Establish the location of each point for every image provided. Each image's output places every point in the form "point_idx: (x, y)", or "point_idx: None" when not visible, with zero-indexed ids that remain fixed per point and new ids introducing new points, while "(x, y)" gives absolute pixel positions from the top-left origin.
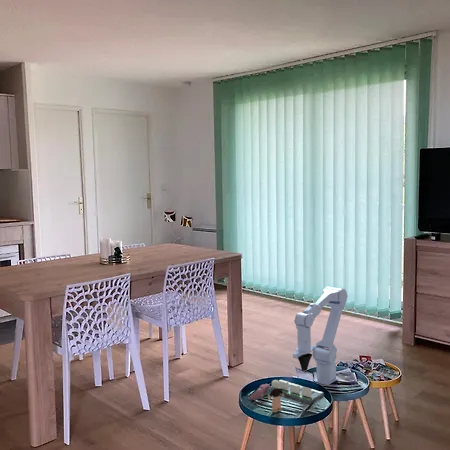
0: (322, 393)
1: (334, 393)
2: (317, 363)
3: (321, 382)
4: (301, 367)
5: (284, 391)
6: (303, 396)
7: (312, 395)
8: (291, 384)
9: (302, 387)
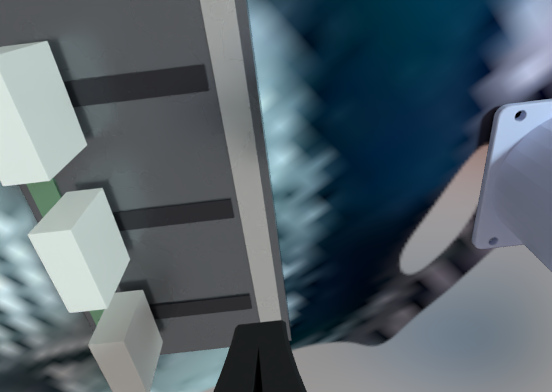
0: None
1: (372, 334)
2: None
3: (491, 196)
4: (227, 363)
5: None
6: None
7: (188, 325)
8: (38, 252)
9: (96, 348)
